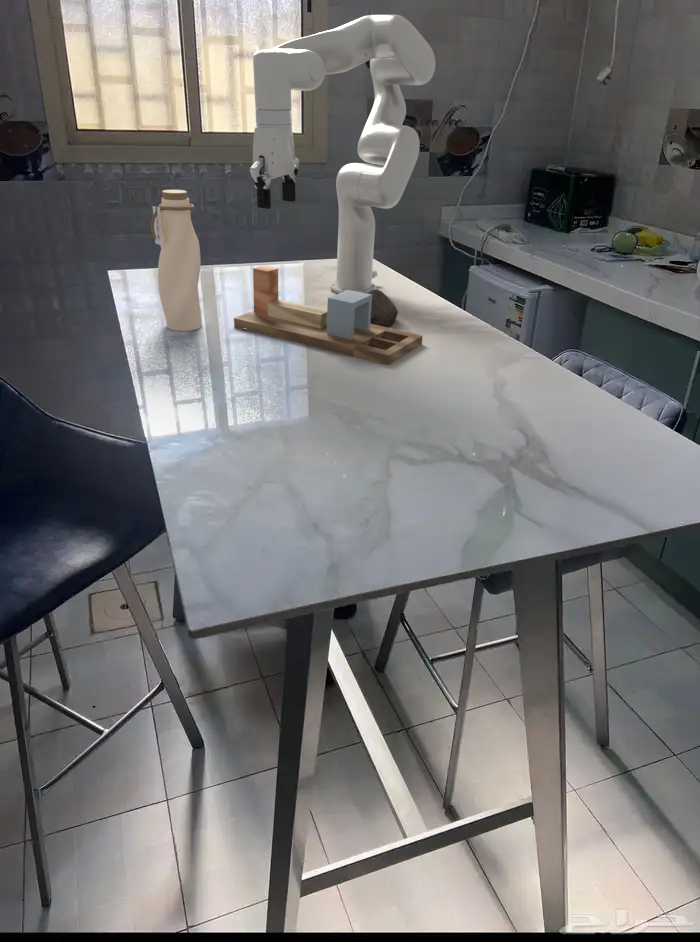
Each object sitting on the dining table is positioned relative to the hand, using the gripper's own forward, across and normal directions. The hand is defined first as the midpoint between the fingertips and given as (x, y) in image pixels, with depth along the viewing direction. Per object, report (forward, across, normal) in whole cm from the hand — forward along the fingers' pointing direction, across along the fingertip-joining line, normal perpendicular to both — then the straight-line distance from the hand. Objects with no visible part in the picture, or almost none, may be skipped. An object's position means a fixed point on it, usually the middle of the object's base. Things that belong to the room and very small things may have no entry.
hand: (277, 204), depth 153 cm
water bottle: (+23, +24, -10) cm, 35 cm away
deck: (+24, +9, +18) cm, 32 cm away
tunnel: (+22, +9, +24) cm, 34 cm away
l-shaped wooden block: (+22, +9, +9) cm, 25 cm away
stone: (+25, -7, +22) cm, 35 cm away
